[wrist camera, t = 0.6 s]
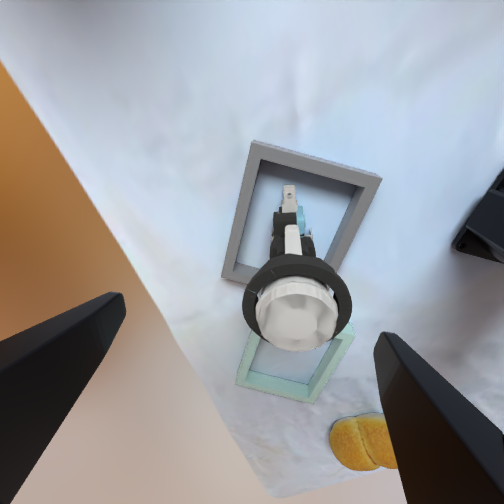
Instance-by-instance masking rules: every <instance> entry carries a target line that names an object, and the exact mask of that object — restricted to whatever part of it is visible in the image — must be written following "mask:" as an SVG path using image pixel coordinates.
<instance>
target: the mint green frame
mask: <svg viewBox="0 0 504 504" xmlns="http://www.w3.org/2000/svg"><path fill="white" fill-rule="evenodd" d="M355 336H356V335H355V332H354V329H353V326H352V324H351V323H347V325H346V326H345V328H344V329H343V330H342V331H341V332H340V333H339V334H338V335H337V336H336V337H334V339H333V341H332V343H331V345H330V346H329V348H328V350H327V352H326V353H325V355H324V357H323V359H322V361H321V362H320V364H319V366H318V368H317V369H316V371H315V373H314V375H313V377H312V378H311V380H310V382H309V384H308V385H305V384H301V383H297V382H293V381H289V380H285V379H281V378H277V377H273V376H269V375H265V374H262V373H258V372H254V371H250V370H249V368H250V365H251V362H252V360H253V357H254V354H255V352H256V349H257V346H258V343H259V341H260V338H261V337H259V336H258V335H257V334H256V333H255V332H254V331H253V330H252V331H251V334H250V337H249V340H248V343H247V346H246V349H245V352H244V354H243V357H242V360H241V363H240V366H239V369H238V372H237V378H236V384H235V385H239V386H243V387H247V388H251V389H255V390H259V391H262V392H266V393H270V394H274V395H278V396H282V397H286V398H290V399H294V400H298V401H302V402H306V403H310V404H314V403H315V401H316V399H317V398H318V396H319V394H320V393H321V391H322V390H323V388H324V386H325V385H326V383H327V381H328V380H329V378H330V377H331V375H332V373H333V372H334V370H335V369H336V367H337V365H338V364H339V362H340V360H341V359H342V357H343V356H344V354H345V352H346V351H347V349H348V347H349V346H350V344H351V343H352V341H353V339H354V338H355Z"/></svg>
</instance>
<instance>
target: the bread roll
mask: <svg viewBox="0 0 504 504" xmlns="http://www.w3.org/2000/svg"><path fill="white" fill-rule="evenodd" d="M329 442H330V446H331V449H332V451H333V453H334V455H335V457H336V458H337V459H338V460H339V461H340V463H341V464H343V465H344V466H346V467H347V468H349V469H351V470H356V471H370V470H375V469H377V468H379V467H380V466H383V467H386V468H389V469H398V466H397V462H396V459H395V455H394V451H393V447H392V444H391V440H390V436H389V432H388V428H387V425H386V421H385V417H384V414H382V413H366V414H362V415H358V416H356V417H353V416H350V417H345V418H341V419H339V420H337V421H336V422H335V424H334V425H333V428H332V430H331V432H330V437H329Z"/></svg>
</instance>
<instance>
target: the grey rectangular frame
mask: <svg viewBox="0 0 504 504" xmlns="http://www.w3.org/2000/svg"><path fill="white" fill-rule="evenodd" d="M261 159H263V160H267V161H270V162H274V163H278V164H281V165H285V166H289V167H292V168H296V169H300V170H303V171H307V172H310V173H314V174H318V175H321V176H325V177H329V178H332V179H336V180H339V181H343V182H347V183H350V184H354V185H358V186H357V188H356V190H355V192H354V195H353V197H352V199H351V201H350V204H349V206H348V208H347V210H346V213H345V215H344V217H343V219H342V222H341V224H340V226H339V228H338V231H337V233H336V235H335V237H334V240H333V242H332V244H331V246H330V249H329V251H328V253H327V255H326V257H325V260H324V262H326V263H327V264H328V265H330V266H331V267H332V268H333V269H334V270H335V273H337V271H338V269H339V267H340V265H341V263H342V261H343V259H344V257H345V255H346V253H347V251H348V249H349V247H350V245H351V243H352V241H353V239H354V237H355V234H356V232H357V230H358V228H359V226H360V224H361V222H362V220H363V218H364V216H365V214H366V212H367V210H368V208H369V206H370V204H371V202H372V200H373V197H374V195H375V193H376V191H377V189H378V187H379V185H380V183H381V181H382V178H381V177H380V176H378V175H377V174H375V173H372V172H368V171H365V170H361V169H357V168H354V167H350V166H347V165H343V164H339V163H336V162H332V161H328V160H325V159H321V158H318V157H314V156H310V155H307V154H303V153H300V152H296V151H292V150H289V149H285V148H282V147H278V146H274V145H271V144H267V143H264V142H260V141H256V140H253V141H252V142H251V146H250V151H249V155H248V160H247V164H246V168H245V173H244V177H243V182H242V186H241V191H240V195H239V199H238V204H237V208H236V213H235V217H234V221H233V226H232V230H231V235H230V239H229V243H228V248H227V252H226V257H225V261H224V266H223V270H222V274H221V277H222V278H225V279H229V280H233V281H237V282H241V283H244V284H248V283H249V282H250V280H251V279H252V277H253V276H254V275H255V274H256V273H257V272H258V271H259V270H260V269H258V268H254V267H251V266H247V265H243V264H239V263H236V262H235V261H236V257H237V253H238V249H239V245H240V241H241V237H242V233H243V229H244V225H245V221H246V217H247V213H248V209H249V205H250V201H251V197H252V193H253V190H254V186H255V182H256V178H257V174H258V170H259V166H260V162H261ZM327 288H328V290H329V288H330V287H329V286H328V285H327Z"/></svg>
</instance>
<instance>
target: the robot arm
mask: <svg viewBox="0 0 504 504" xmlns="http://www.w3.org/2000/svg"><path fill="white" fill-rule="evenodd" d="M461 243H463V245H462V246H459V245H460V244H461ZM452 246H453V248H454V249H456V250H457V251H459V252H463V253H466V254H470V255H474V256H477V257H481V258H485V259H489V260H492V261H496V262H500V263H503V264H504V170H503V171H502V173H501V174H500V176H499V177H498V179H497V180H496V181H495V183H494V184H493V186H492V187H491V189H490V190H489V191H488V193H487V194H486V195H485V197H484V198H483V200H482V201H481V203H480V204H479V205H478V207H477V208H476V210H475V211H474V213H473V214H472V215H471V217H470V218H469V220H468V221H467V223H466V224H465V226H464V227H463V229H462V230H461V231H460V233H459V234H458V236H457V237H456V239H455V240H454V241H453V244H452ZM125 316H126V307H125V302H124V297H123V295H122V293H119V292H108V293H106V294H103V295H101V296H99V297H97V298H94V299H92V300H90V301H88V302H86V303H84V304H81V305H79V306H77V307H75V308H72V309H70V310H68V311H66V312H64V313H62V314H59V315H57V316H55V317H53V318H50V319H48V320H46V321H44V322H42V323H40V324H37V325H35V326H33V327H31V328H29V329H26V330H24V331H22V332H20V333H18V334H15V335H13V336H11V337H9V338H7V339H4V340H2V341H0V504H10V503H11V502H12V500H13V499H14V497H15V495H16V494H17V492H18V491H19V489H20V488H21V486H22V485H23V483H24V481H25V480H26V478H27V477H28V475H29V474H30V472H31V470H32V469H33V467H34V466H35V464H36V463H37V461H38V460H39V458H40V457H41V455H42V453H43V452H44V450H45V449H46V447H47V446H48V444H49V443H50V441H51V439H52V438H53V436H54V435H55V433H56V432H57V430H58V429H59V427H60V425H61V424H62V422H63V421H64V419H65V417H66V416H67V415H68V413H69V411H70V410H71V408H72V407H73V405H74V404H75V402H76V400H77V399H78V397H79V396H80V394H81V393H82V391H83V390H84V388H85V387H86V385H87V383H88V382H89V380H90V379H91V377H92V375H93V374H94V373H95V371H96V369H97V368H98V366H99V365H100V363H101V362H102V360H103V358H104V357H105V355H106V353H107V351H108V350H109V348H110V346H111V344H112V342H113V340H114V338H115V336H116V334H117V332H118V330H119V328H120V326H121V324H122V322H123V320H124V318H125ZM373 355H374V362H375V369H376V375H377V382H378V389H379V395H380V401H381V405H382V409H383V413H384V417H385V421H386V425H387V428H388V432H389V436H390V440H391V444H392V447H393V451H394V455H395V459H396V462H397V466H398V470H399V473H400V477H401V481H402V485H403V489H404V493H405V497H406V500H407V504H504V434H503V433H502V431H501V430H500V429H499V428H498V427H496V426H495V425H494V424H493V423H492V422H491V421H490V420H489V419H488V418H487V417H486V416H485V415H484V414H482V413H481V412H480V411H479V410H478V409H477V408H476V407H475V406H474V405H473V404H472V403H471V402H469V401H468V400H467V399H466V398H465V397H464V396H463V395H462V394H461V393H460V392H459V391H458V390H456V389H455V388H454V387H453V386H452V385H451V384H450V383H449V382H448V381H447V380H446V379H445V378H443V377H442V376H441V375H440V374H439V373H438V372H437V371H436V370H435V369H434V368H433V367H432V366H430V365H429V364H428V363H427V362H426V361H425V360H424V359H423V358H422V357H421V356H420V355H419V354H417V353H416V352H415V351H414V350H413V349H412V348H411V347H410V346H409V345H408V344H407V343H406V342H404V341H403V340H402V339H401V338H400V337H399V336H398V335H397V334H395V333H391V332H382V333H381V334H380V336H379V338H378V340H377V343H376V345H375V347H374V352H373Z"/></svg>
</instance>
